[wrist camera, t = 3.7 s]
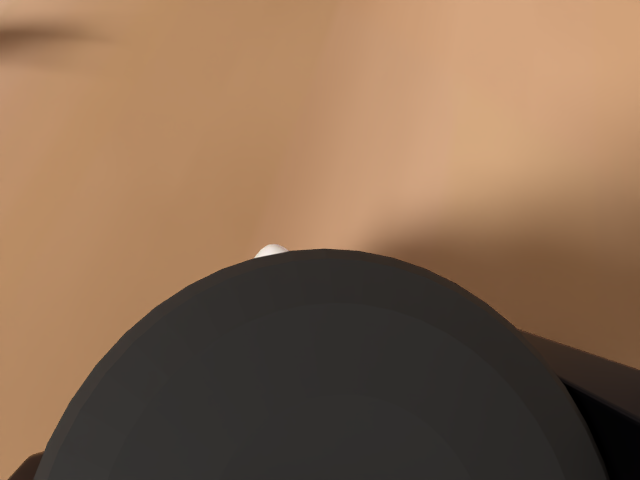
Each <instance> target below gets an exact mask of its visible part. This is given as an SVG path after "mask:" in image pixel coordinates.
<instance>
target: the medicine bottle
mask: <svg viewBox="0 0 640 480" xmlns="http://www.w3.org/2000/svg"><path fill="white" fill-rule="evenodd" d="M33 480H610V479H609V475H608V472H607V469H606V466H605V463H604V460H603V458H602V456H601V454H600V452H599V449H598V447H597V445H596V443H595V440H594V438H593V436H592V434H591V432H590V429H589V427H588V425H587V423H586V421H585V419H584V417H583V416H582V414H581V412H580V411H579V409H578V407H577V406H576V404H575V402H574V401H573V399H572V397H571V395H570V394H569V392H568V390H567V389H566V387H565V386H564V384H563V383H562V382H561V380H560V379H559V378H558V376H557V375H556V374H555V372H554V371H553V370H552V368H551V367H550V366H549V364H548V363H547V362H546V360H545V359H544V358H543V356H542V355H541V354H540V353H539V352H538V351H537V350H536V349H535V348H534V347H533V345H532V344H531V343H530V342H529V341H528V340H527V339H526V338H525V337H524V336H523V335H522V334H521V333H520V332H519V331H518V330H517V329H516V328H515V327H514V326H513V325H512V324H511V323H510V322H508V321H507V320H506V319H505V318H504V317H502V316H501V315H500V314H499V313H498V312H496V311H495V310H494V309H493V308H491V307H490V306H489V305H488V304H487V303H485V302H484V301H482V300H481V299H479V298H477V297H476V296H474V295H473V294H471V293H470V292H468V291H467V290H465V289H464V288H462V287H460V286H459V285H457V284H456V283H453V282H451V281H449V280H447V279H445V278H443V277H441V276H439V275H437V274H435V273H433V272H431V271H429V270H427V269H424V268H421V267H418V266H415V265H412V264H410V263H407V262H404V261H401V260H398V259H395V258H391V257H386V256H381V255H376V254H371V253H366V252H361V251H351V250H336V249H313V250H297V251H288V250H287V249H286V248H284V247H283V246H280V245H278V244H270V245H267V246H266V247H264V248H263V249H261V250H260V252H259V253H258V254H257V255H256V256H255V257H254V259H251V260H248V261H245V262H242V263H239V264H236V265H233V266H230V267H227V268H224V269H221V270H219V271H217V272H215V273H213V274H211V275H209V276H207V277H205V278H203V279H201V280H199V281H197V282H195V283H193V284H191V285H189V286H187V287H185V288H184V289H182V290H181V291H179V292H178V293H176V294H175V295H173V296H172V297H170V298H169V299H167V300H166V301H164V302H163V303H161V304H160V305H158V306H157V307H155V308H154V309H153V310H152V311H151V312H149V313H148V314H147V315H146V316H145V317H144V318H142V319H141V320H140V321H139V322H138V323H137V324H135V325H134V326H133V327H132V328H131V329H130V330H128V331H127V332H126V333H125V334H124V335H123V336H122V337H121V338H120V339H119V341H118V342H117V343H116V344H115V345H114V346H113V347H112V348H111V349H110V350H109V351H108V353H107V354H106V355H105V356H104V357H103V358H102V359H101V360H100V361H99V362H98V364H97V365H96V366H95V367H94V369H93V370H92V372H91V373H90V374H89V376H88V377H87V379H86V380H85V381H84V383H83V384H82V386H81V387H80V388H79V390H78V391H77V393H76V394H75V396H74V397H73V398H72V400H71V401H70V403H69V405H68V407H67V408H66V410H65V412H64V414H63V416H62V418H61V419H60V421H59V423H58V425H57V427H56V429H55V430H54V432H53V434H52V436H51V438H50V440H49V442H48V444H47V446H46V449H45V451H44V454H43V456H42V459H41V461H40V464H39V466H38V469H37V471H36V474H35V476H34V479H33Z"/></svg>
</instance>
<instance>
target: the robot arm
mask: <svg viewBox="0 0 640 480" xmlns="http://www.w3.org/2000/svg"><path fill="white" fill-rule="evenodd" d="M517 330H518V331H519V332H520V333H521V334H522V335H523V336H524V337H525V338H526V339H527V340H528V341H529V342H530V343H531V344H532V345H533V347H534V348H535V349H536V350H537V351H538V352H539V353H540V354H541V355H542V356H543V358H544V359H545V360H546V362H547V363H548V364H549V366H550V367H551V368H552V370H553V371H554V372H555V374H556V375H557V376H558V378H559V379H560V380H561V382H562V383H563V384H564V386H565V387H566V389H567V390H568V392H569V394H570V395H571V397H572V399H573V401H574V402H575V404H576V406H577V407H578V409H579V411H580V412H581V414H582V416H583V417H584V419H585V421H586V423H587V425H588V427H589V429H590V432H591V434H592V436H593V438H594V440H595V443H596V445H597V447H598V449H599V452H600V454H601V456H602V458H603V460H604V463H605V466H606V469H607V472H608V475H609V479H610V480H640V370H638V369H635V368H632V367H629V366H626V365H623V364H620V363H617V362H614V361H611V360H608V359H605V358H602V357H599V356H596V355H593V354H590V353H587V352H584V351H581V350H578V349H575V348H572V347H569V346H566V345H563V344H561V343H558V342H555V341H552V340H549V339H546V338H543V337H540V336H537V335H534V334H531V333H528V332H525V331H522V330H519V329H517ZM43 454H44V451H43V452H40V453H36V454H34V455H31V456H30V457H28V458H27V459H26V460H25V461H24V462H23V463H22V465H21V466H20V467H19V468H18V469H17V470H16V471H15V472H14V473H13V474H12V475H11V477H10V478H9V479H8V480H33V479H34V476H35V474H36V471H37V469H38V466H39V464H40V461H41V459H42V456H43Z"/></svg>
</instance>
